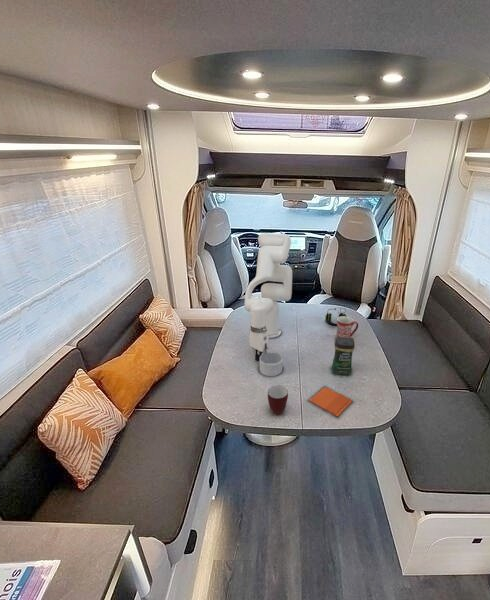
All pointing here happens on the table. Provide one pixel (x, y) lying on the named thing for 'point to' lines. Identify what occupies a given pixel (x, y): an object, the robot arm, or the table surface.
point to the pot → (271, 364)
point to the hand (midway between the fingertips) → (258, 360)
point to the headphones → (328, 318)
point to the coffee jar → (343, 355)
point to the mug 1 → (277, 398)
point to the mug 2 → (345, 326)
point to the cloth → (331, 401)
